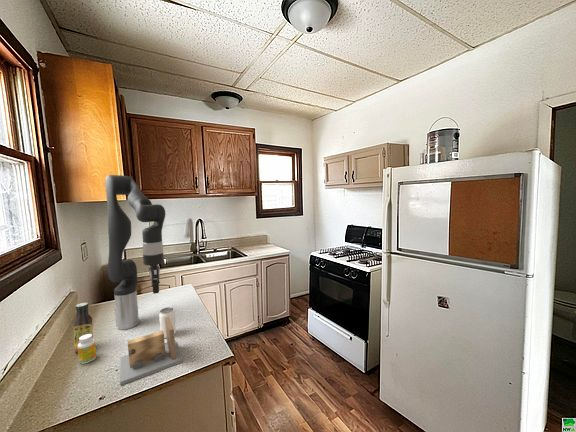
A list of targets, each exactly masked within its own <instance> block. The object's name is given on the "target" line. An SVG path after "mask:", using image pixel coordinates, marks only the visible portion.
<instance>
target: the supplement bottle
mask: <svg viewBox="0 0 576 432" xmlns="http://www.w3.org/2000/svg"><path fill="white" fill-rule="evenodd" d="M79 342H80V343H79V344H78V353H77V355H78V363H80V365H81V364H82V365H84V364H88V363H90V362H92V361H94V360H95V359H96V358H97V349H96V348H97V347H96V340H95V338H93V339H92V334H86V335H83V336H81V337H80V338H79Z"/></svg>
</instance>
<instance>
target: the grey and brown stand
mask: <svg viewBox="0 0 576 432" xmlns="http://www.w3.org/2000/svg"><path fill="white" fill-rule="evenodd" d="M165 322H166V335H167V338H166V342H165V356H163V353H161V354H158V355H155V356H154V357H155V359H153V360H150V361H148V362H145V363H143V361H142V360H140V361H137V362H134V363H133V367H131V368H130V364H129V354H126V355H123V356H121V357H120V379H119V380H120V382H119V383H120V386H122V385H125V384H128V383H130V382H133V381H136V380H138V379H141V378H143V377H146V376H150V375H151V374H154V373H157V372H160V371H162V370H165V369H168V368H170V367H173V366H175V365H178V364H181V363H183V357H182V355H181V354H182V353H181V351H180V349H179V346H178V343H177V340H176V339H175V335H174V328H173V326H172V323H171V320H170V318H169V317H166V318H165Z"/></svg>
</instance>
